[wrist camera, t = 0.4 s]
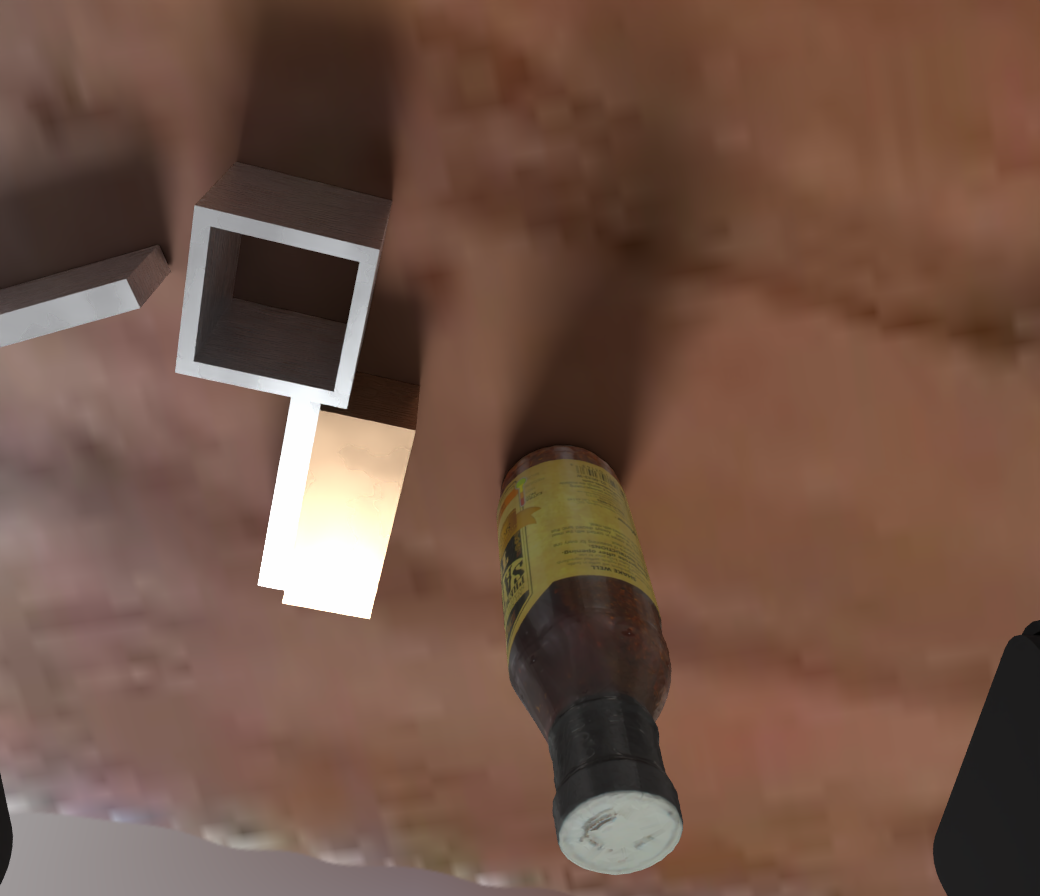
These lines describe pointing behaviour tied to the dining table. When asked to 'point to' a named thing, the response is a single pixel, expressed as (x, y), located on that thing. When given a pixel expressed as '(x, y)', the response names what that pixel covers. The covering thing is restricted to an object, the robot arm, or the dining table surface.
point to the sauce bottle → (588, 656)
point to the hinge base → (305, 381)
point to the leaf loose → (80, 295)
